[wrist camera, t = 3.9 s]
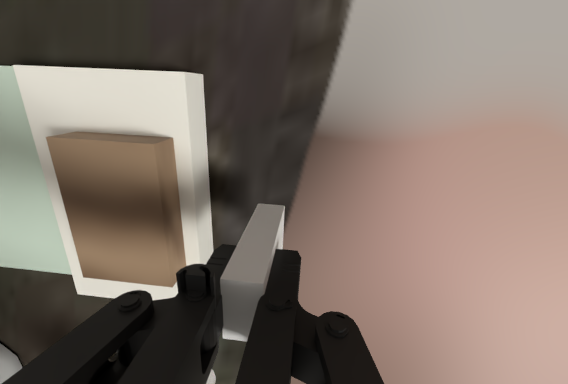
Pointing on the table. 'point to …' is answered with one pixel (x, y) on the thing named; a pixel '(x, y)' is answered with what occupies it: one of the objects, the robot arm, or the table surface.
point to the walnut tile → (121, 205)
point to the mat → (24, 191)
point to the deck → (129, 121)
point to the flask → (8, 364)
